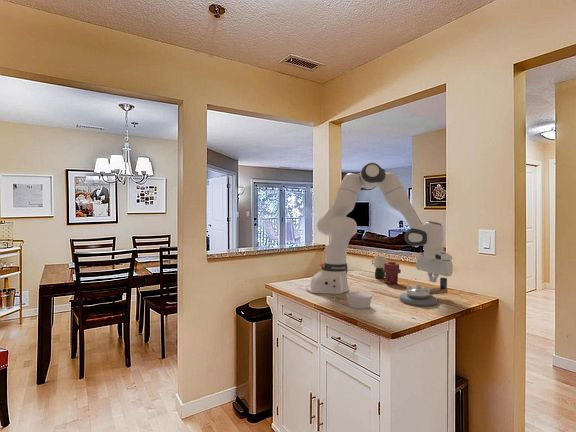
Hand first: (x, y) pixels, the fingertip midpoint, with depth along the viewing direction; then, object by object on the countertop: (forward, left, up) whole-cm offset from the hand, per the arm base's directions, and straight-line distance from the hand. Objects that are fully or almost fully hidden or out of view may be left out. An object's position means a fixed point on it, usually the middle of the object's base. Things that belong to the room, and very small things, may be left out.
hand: (432, 281), depth 168 cm
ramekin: (-42, -14, -7) cm, 45 cm away
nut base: (-12, -9, -7) cm, 17 cm away
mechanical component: (-9, +28, -7) cm, 30 cm away
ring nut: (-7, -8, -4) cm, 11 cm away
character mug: (-10, +43, -7) cm, 45 cm away
